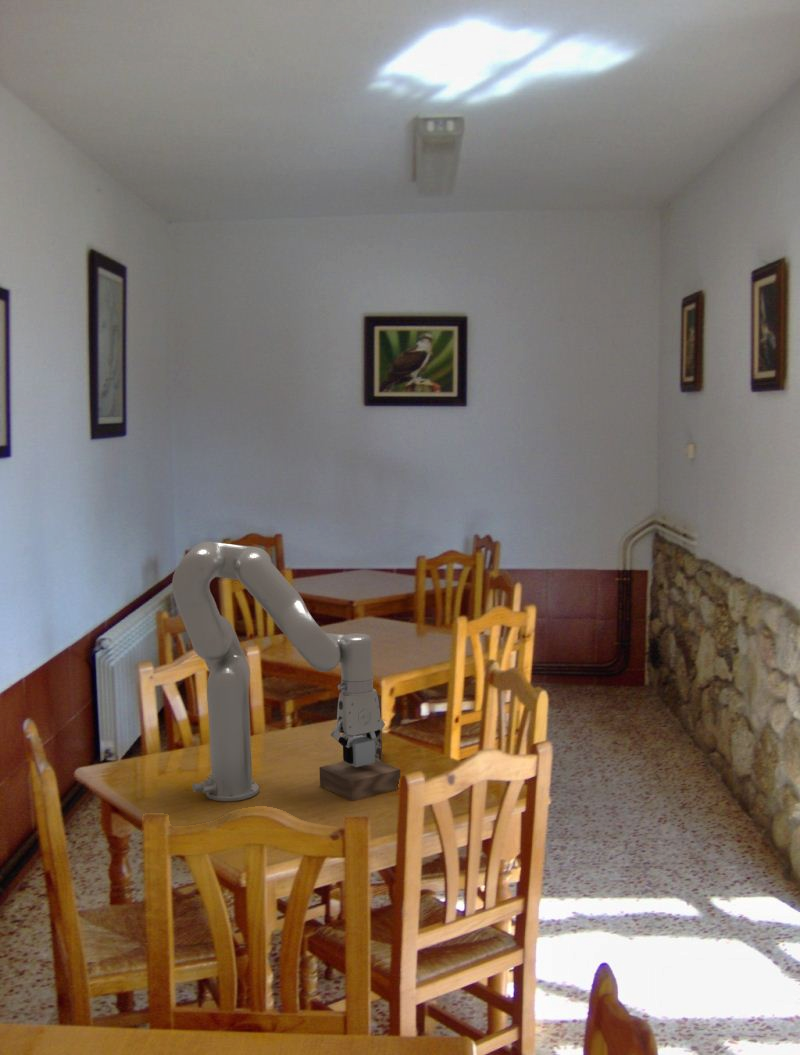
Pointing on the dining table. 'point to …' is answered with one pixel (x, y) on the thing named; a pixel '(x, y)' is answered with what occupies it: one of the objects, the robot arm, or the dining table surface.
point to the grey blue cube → (362, 751)
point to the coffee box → (378, 738)
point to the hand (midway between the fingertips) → (359, 759)
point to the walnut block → (359, 779)
